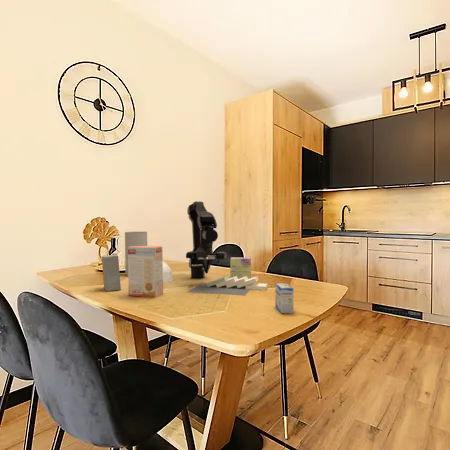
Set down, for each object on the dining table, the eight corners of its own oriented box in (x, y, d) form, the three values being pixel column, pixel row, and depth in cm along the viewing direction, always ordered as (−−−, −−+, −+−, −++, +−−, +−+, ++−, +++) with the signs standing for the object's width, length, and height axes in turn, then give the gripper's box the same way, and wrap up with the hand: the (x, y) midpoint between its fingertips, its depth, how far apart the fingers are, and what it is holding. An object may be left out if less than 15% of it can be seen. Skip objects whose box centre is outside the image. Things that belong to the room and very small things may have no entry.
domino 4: (236, 284, 137) (254, 278, 135) (239, 282, 143) (257, 276, 141) (237, 288, 137) (256, 281, 135) (240, 285, 143) (258, 279, 141)
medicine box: (275, 307, 110) (274, 283, 110) (287, 306, 110) (287, 282, 110) (280, 314, 102) (280, 288, 102) (294, 313, 102) (293, 287, 102)
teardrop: (153, 284, 152) (153, 260, 152) (149, 280, 162) (149, 257, 162) (175, 281, 157) (174, 258, 156) (169, 278, 167) (169, 256, 167)
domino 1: (206, 283, 141) (224, 277, 139) (210, 281, 147) (227, 275, 145) (207, 287, 141) (225, 281, 139) (212, 284, 147) (228, 278, 144)
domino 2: (215, 284, 140) (233, 278, 138) (219, 281, 146) (236, 275, 143) (217, 287, 140) (234, 281, 137) (220, 284, 146) (237, 279, 143)
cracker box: (163, 295, 128) (163, 246, 128) (154, 299, 123) (154, 247, 122) (137, 292, 134) (137, 245, 134) (128, 295, 129) (127, 246, 128)
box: (250, 279, 161) (250, 257, 160) (250, 281, 155) (250, 258, 155) (231, 279, 162) (231, 257, 162) (230, 281, 156) (230, 258, 156)
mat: (186, 293, 132) (186, 291, 132) (202, 283, 151) (202, 282, 151) (245, 296, 125) (245, 295, 125) (253, 286, 144) (253, 285, 144)
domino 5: (245, 285, 136) (265, 286, 134) (248, 282, 142) (267, 283, 140) (245, 289, 136) (265, 290, 134) (248, 286, 142) (267, 287, 140)
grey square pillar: (144, 276, 172) (143, 232, 171) (122, 276, 172) (121, 232, 172) (150, 272, 184) (149, 231, 184) (129, 272, 185) (128, 231, 184)
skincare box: (121, 290, 139) (120, 255, 139) (104, 292, 136) (103, 256, 135) (117, 286, 147) (117, 253, 146) (101, 288, 143) (101, 254, 143)
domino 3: (225, 284, 139) (243, 278, 136) (229, 282, 144) (246, 276, 142) (227, 288, 139) (245, 281, 136) (230, 285, 144) (247, 279, 142)
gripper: (181, 241, 139) (181, 275, 139) (220, 242, 134) (221, 277, 134) (190, 239, 149) (190, 271, 150) (227, 240, 145) (227, 272, 145)
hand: (206, 273), depth 144 cm, fingers closed
